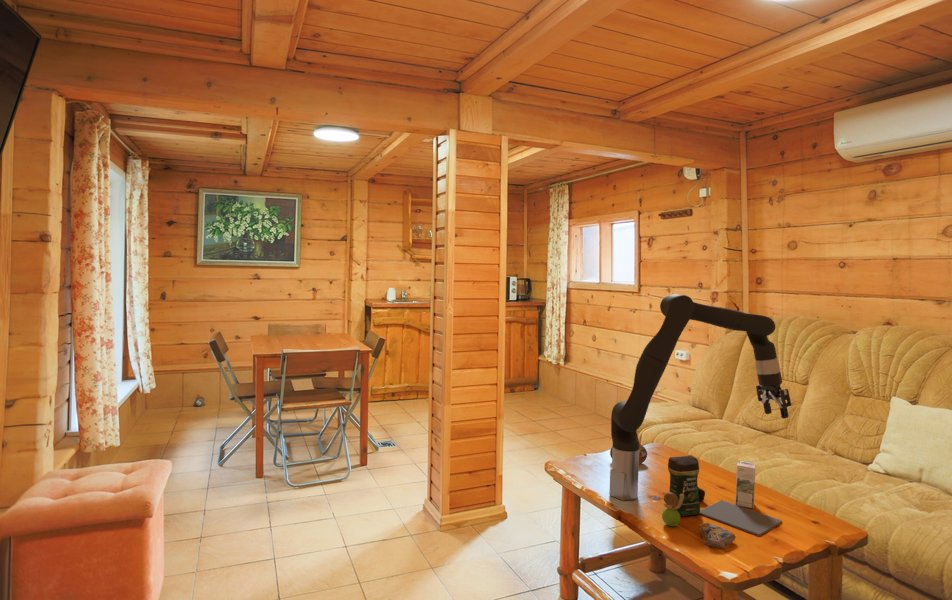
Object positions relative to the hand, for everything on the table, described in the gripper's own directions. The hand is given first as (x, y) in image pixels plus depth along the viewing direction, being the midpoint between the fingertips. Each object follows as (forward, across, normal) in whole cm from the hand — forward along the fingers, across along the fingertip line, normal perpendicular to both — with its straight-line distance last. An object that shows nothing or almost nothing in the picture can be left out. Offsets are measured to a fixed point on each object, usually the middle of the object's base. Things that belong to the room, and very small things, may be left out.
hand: (776, 415), depth 201 cm
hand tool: (+23, -12, -34) cm, 42 cm away
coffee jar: (+22, +7, -44) cm, 50 cm away
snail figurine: (+21, +15, -54) cm, 59 cm away
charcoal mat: (+25, +13, -29) cm, 40 cm away
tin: (+19, -42, -42) cm, 62 cm away
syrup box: (+26, +3, -21) cm, 34 cm away
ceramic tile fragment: (+24, +26, -45) cm, 57 cm away
